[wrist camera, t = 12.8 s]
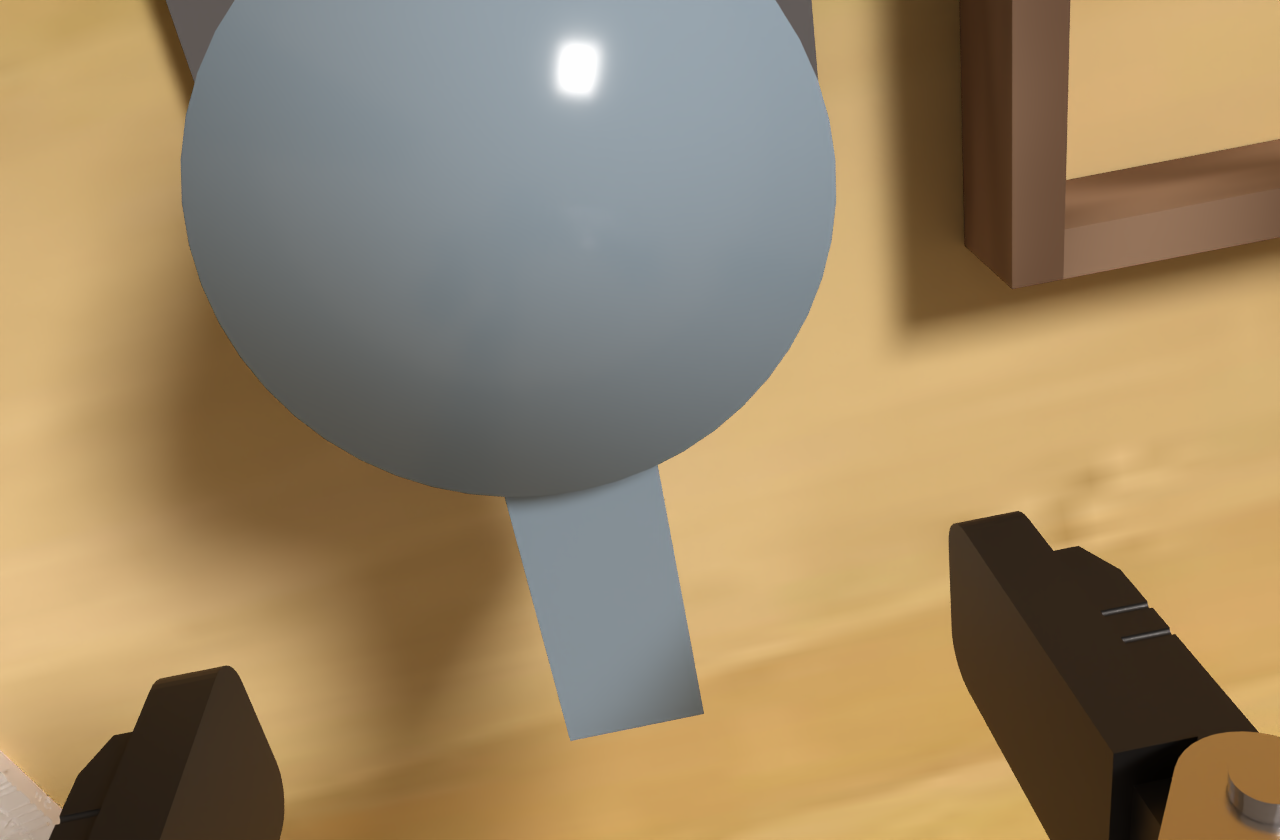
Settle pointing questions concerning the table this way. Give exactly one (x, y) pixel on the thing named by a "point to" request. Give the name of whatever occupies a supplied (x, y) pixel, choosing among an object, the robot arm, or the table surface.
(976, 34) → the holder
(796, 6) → the mat
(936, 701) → the table surface
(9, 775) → the white plastic strip tool
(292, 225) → the jug
